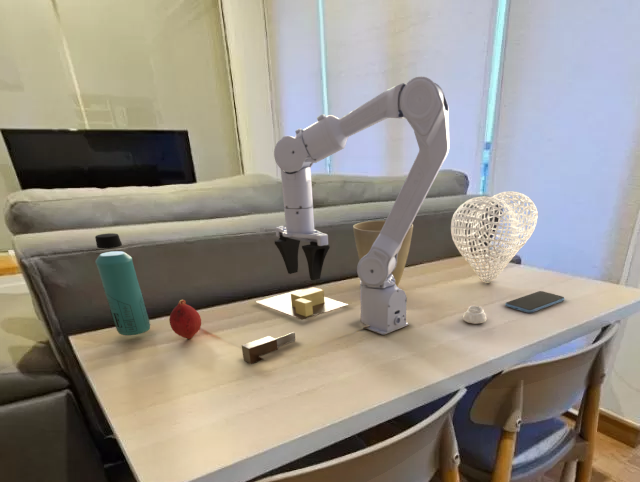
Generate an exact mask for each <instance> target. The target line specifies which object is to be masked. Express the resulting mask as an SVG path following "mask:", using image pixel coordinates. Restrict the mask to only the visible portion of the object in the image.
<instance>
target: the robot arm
mask: <svg viewBox="0 0 640 482" xmlns="http://www.w3.org/2000/svg"><path fill="white" fill-rule="evenodd" d="M449 117H450V107H449V104H448V100H447V97H446V96H445V92H444V91H443V89H442V87H441V86H440V85H439V84H438V83H436V82H435V81H433V80H432V79H431V78H429V77H427V76H415V77H413V78H411V79H410V80H409V81H407V82H406V83H405V82H402V83H398V84H397V85H394V86H393V87H391V88H388V89H386V90H385V91H383V92H381V93H380V94H378V95H376V96H375V97H373V98H371V99H370V100H368V101H367V102H365V103H363V104H362V105H360V106H358V107H356V108H355V109H353V110H352V111H350V112H349V113H347V114H345V115H343V116H342V117H340V118H339V117H337V116H335V115H333V114H329V115H326V114H320V115H318V116H317V117H316V120H317V121H316V122H314V123H312V124H311V125H309V126H307V127H306V128H304V129H302V127H301V128H299V127H298V128H297V129H296V130H295V136H291V135H284V136H282V137H281V139H280V140H279V141H277V143H276V144H275V146H274V150H273V157H274V161H275V163H276V165H277V167H279V169H280V175H281V176H280V177H281V189H282V200H283V210H284V211H283V212H284V222H285V225H279V226H275V228H274V229H275V236H276V238H278V239H274V242H273V243H274V245H275V246H276V249H278V251H279V253H280V255H281V257H282V259H283V263H284V265H285V268H286V271H287V274H288V275H291V274H295V273H298V272H299V248H300V243H301V242H305V243H308V244H304V245H301V249H302V250H303V253H304V255H305V259H306V262H307V267H308V274H309V278H310V279H309V280H310V281H312V282H313V281H317V280H321V276H322V271H323V266H324V262H325V259H326V256H327V254H328V252H329V250H330V247H331V246H330V244H329V235H328V234H327V233H323V232H321V231H320V230H317V229H315V216H314V215H315V214H314V199H313V185H312V184H313V183H312V170H311V169H312V167H313V165H314V164H317V163H319V162H320V161H322V160H324V159H327V158H328V157H331V156H333V155H334V154H336V153H338V152H340V151H342V150H344V149H345V148H346V145H347V141H348V139H349V137H352V136H353V135H356V134H357V133H360V132H362V131H364V130H366V129H368V128H370V127H372V126H374V125H376V124H378V123H381V122H382V121H385V120H387V119H403V120H406V121H407V123H408V124H409V125H410V127H411V128H412V130H413V133H414V136H415V139H416V143H417V146H418V152H417V155H416V157H415V159H414V161H413V163H412V165H411V167H410V170H409V171H408V174H407V176H406V178H405V179H404V181H403V184H402V186H401V188H400V190H399V192H398V195H397V196H396V199H395V201H394V203H393V205H392V207H391V209H390V211H389V213H388V215H387V217H386V219H385V220H386V221H385V224H384V226H383V228H382V230H381V232H380V234H379V236H378V237H377V239H376V240H375V242H374V243H373V245H372V247H371V249H370V251H369V252H368V254H366V255H365V256H364V257H362V258H361V259H360V260H359V261H358V262H357V266H356V272H357V273H356V274H357V277H358V279H359V292H360V293H359V295H360V296H359V298H360V299H359V301H360V322H361V323H362V324H363V325H366V326H364V327H363V329H365V330H367V331H371V332H373V333H376V334H379V335H382V336H384V335H387V334H390V333H392V332H395V331H398V330H400V329H402V328H405V327H408V326H409V323H408V322H407V306H408V305H407V303H408V302H407V301H408V300H407V299H408V297H407V293H406V292H405V290H403V289H402V288H400V287H399V286H398V287H397V286H396V284H395V279H394V277H393V275H392V272H393V271H394V270H395V268H396V265H397V255H398V252H399V250H400V248H401V245H402V242H403V240H404V238H405V236H406V234H407V232H408V230H409V228H410V226H411V225H412V224H413V223H414V220H415V219H416V217H417V215H418V213H419V211H420V210H421V207H422V205H423V203H424V202H425V199H426V197H427V195H428V194H429V192H430V190H431V187H432V186H433V184H434V182H435V180H436V178H437V176H438V174H439V173H440V170H441V169H442V166H443V164H444V163H445V161H446V159H447V157H448V155H449V152H450V149H451V146H450V145H451V144H450V118H449Z"/></svg>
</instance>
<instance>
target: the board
mask: <svg viewBox="0 0 640 482" xmlns="http://www.w3.org/2000/svg"><path fill="white" fill-rule="evenodd" d="M302 290H303V289H296V290H292V291H290V292H285V293H282V294H278V295H274V296H271V297H267V298H263V299H259V300H255V303H256V304H259V305H261V306H264V307H267V308H270V309H271V310H275V311H278V312H281V313H283V314H286V315H288V316H290V317H293V318H296V319H299V320H301V321H303V320H306V319H309V318H312V317H315V316H318V315H322V314H325V313H327V312H331V311H333V310H338V309H340V308H343V307H346V306H349V305H350V304H348V303H345V302H342V301H339V300H336V299H332V298H330V297H326V296H324V301H325V303H321V304H318V305H315V306H312V308H313V315H310V316H307V317H305V316H303V315H300V314H297V313H296V309H295V307H293V306H292V303H291V293H295V292H298V291H302Z"/></svg>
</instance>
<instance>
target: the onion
mask: <svg viewBox="0 0 640 482" xmlns="http://www.w3.org/2000/svg"><path fill="white" fill-rule="evenodd" d="M168 319H169V325H170V327H171V330H172V331H173V332H174V334H176V335H178V336H179V337H181V338H184V339H187V340H191V339H193V338H194V336H196V334H197V333H198V332H200V329H201V326H202V317H201V315H200V313H199V312H198V311H197V310H196V309H195V307H193V306H191V305H190V304H187V303H186V300H185V299H180V300H179V301H178V303H177V305H176V306H175V307H174V308H173V309H172V311H171V312H170V315H169V318H168Z"/></svg>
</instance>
